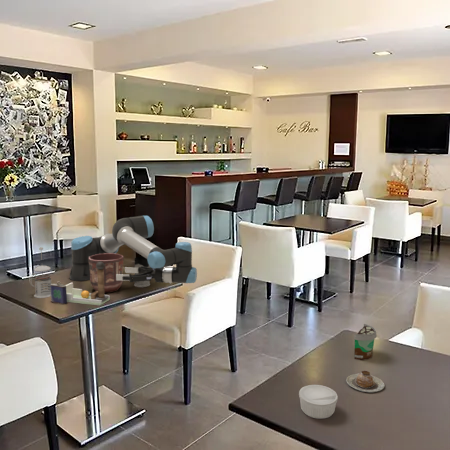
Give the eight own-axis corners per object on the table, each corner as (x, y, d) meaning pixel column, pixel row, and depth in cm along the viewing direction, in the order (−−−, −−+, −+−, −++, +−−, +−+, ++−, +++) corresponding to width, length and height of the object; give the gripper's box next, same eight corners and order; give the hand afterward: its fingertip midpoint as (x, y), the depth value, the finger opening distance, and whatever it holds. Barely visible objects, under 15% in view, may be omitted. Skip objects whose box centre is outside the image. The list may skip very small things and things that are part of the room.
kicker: (97, 296, 240) (95, 259, 237) (108, 297, 239) (106, 260, 236) (91, 300, 235) (89, 262, 231) (102, 301, 233) (100, 263, 230)
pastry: (338, 383, 159) (339, 370, 158) (362, 373, 165) (362, 360, 165) (368, 398, 149) (368, 384, 148) (392, 387, 156) (393, 374, 155)
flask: (50, 302, 236) (48, 280, 234) (54, 300, 239) (53, 279, 237) (64, 304, 232) (63, 283, 231) (69, 303, 235) (68, 281, 233)
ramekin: (324, 426, 134) (325, 408, 133) (290, 411, 141) (291, 394, 140) (344, 409, 142) (344, 393, 141) (311, 396, 149) (311, 380, 148)
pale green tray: (71, 295, 246) (70, 282, 245) (110, 299, 241) (109, 285, 239) (60, 301, 238) (59, 287, 236) (100, 305, 232) (99, 291, 230)
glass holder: (131, 286, 263) (130, 259, 260) (143, 279, 276) (142, 253, 274) (145, 287, 260) (145, 260, 258) (157, 280, 273) (156, 254, 271)
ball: (84, 296, 241) (83, 289, 241) (91, 297, 240) (90, 289, 240) (79, 299, 237) (79, 291, 237) (86, 299, 236) (86, 292, 236)
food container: (370, 364, 171) (371, 337, 169) (353, 360, 174) (354, 334, 172) (379, 352, 181) (380, 326, 180) (362, 348, 184) (364, 323, 183)
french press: (57, 294, 248) (55, 247, 243) (35, 299, 239) (32, 250, 235) (48, 290, 254) (45, 244, 250) (26, 295, 246) (23, 247, 242)
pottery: (103, 297, 244) (102, 262, 241) (83, 290, 255) (81, 256, 253) (130, 289, 258) (130, 256, 255) (110, 283, 269) (109, 251, 266)
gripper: (158, 289, 219) (112, 288, 221) (169, 275, 243) (128, 274, 246) (157, 273, 218) (112, 272, 220) (169, 260, 242) (128, 259, 244)
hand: (120, 273), depth 233 cm, fingers open, 13 cm apart
